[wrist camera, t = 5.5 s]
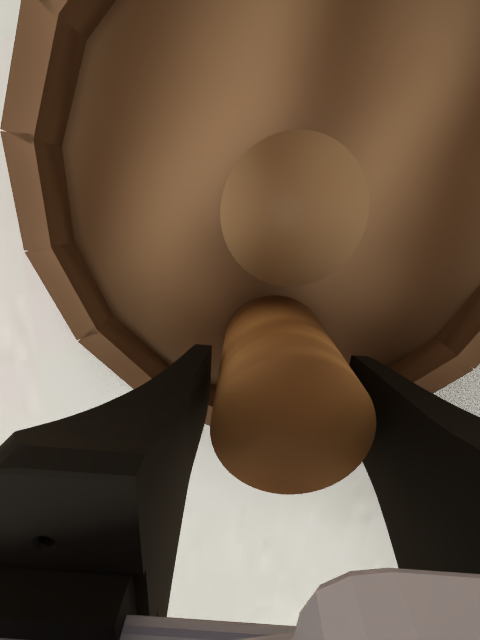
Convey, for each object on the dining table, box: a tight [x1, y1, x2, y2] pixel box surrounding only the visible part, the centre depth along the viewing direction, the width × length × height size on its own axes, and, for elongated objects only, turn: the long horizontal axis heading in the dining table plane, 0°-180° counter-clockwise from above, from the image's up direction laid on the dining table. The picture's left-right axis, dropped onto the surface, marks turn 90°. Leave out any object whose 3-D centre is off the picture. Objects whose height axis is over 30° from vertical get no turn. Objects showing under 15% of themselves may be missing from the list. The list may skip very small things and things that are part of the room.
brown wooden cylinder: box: [210, 295, 376, 494], centre depth 11 cm, size 4×4×6 cm
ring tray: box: [0, 0, 480, 426], centre depth 11 cm, size 19×19×2 cm
